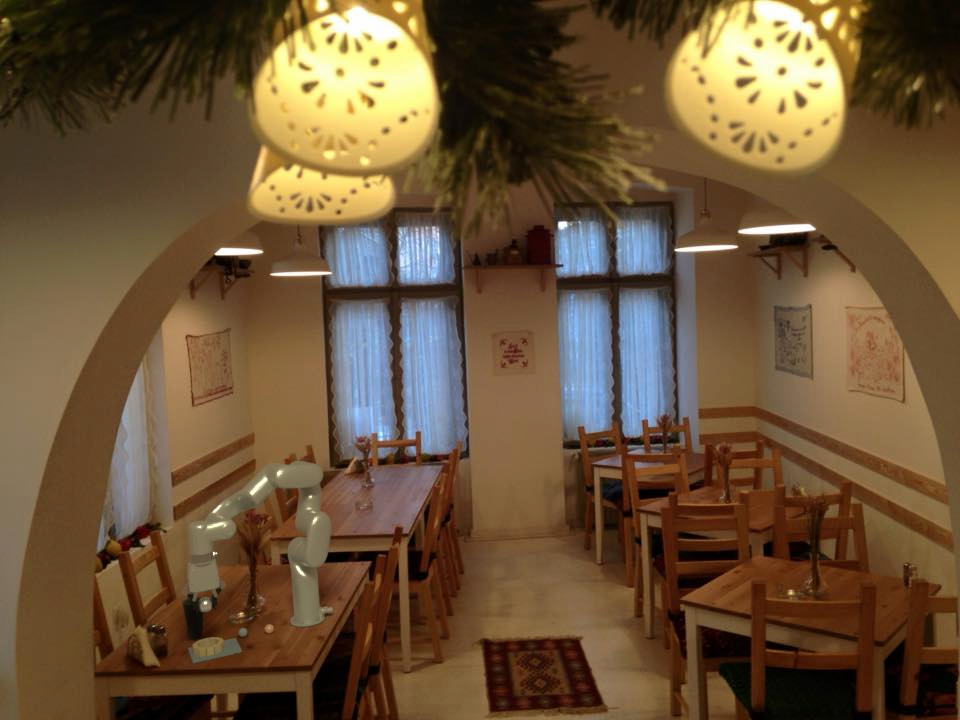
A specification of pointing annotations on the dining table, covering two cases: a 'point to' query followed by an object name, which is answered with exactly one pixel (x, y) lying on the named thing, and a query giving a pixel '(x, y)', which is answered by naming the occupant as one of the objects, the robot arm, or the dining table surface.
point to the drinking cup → (193, 619)
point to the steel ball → (205, 604)
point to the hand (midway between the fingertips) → (205, 609)
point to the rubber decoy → (242, 632)
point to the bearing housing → (213, 648)
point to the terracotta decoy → (269, 628)
